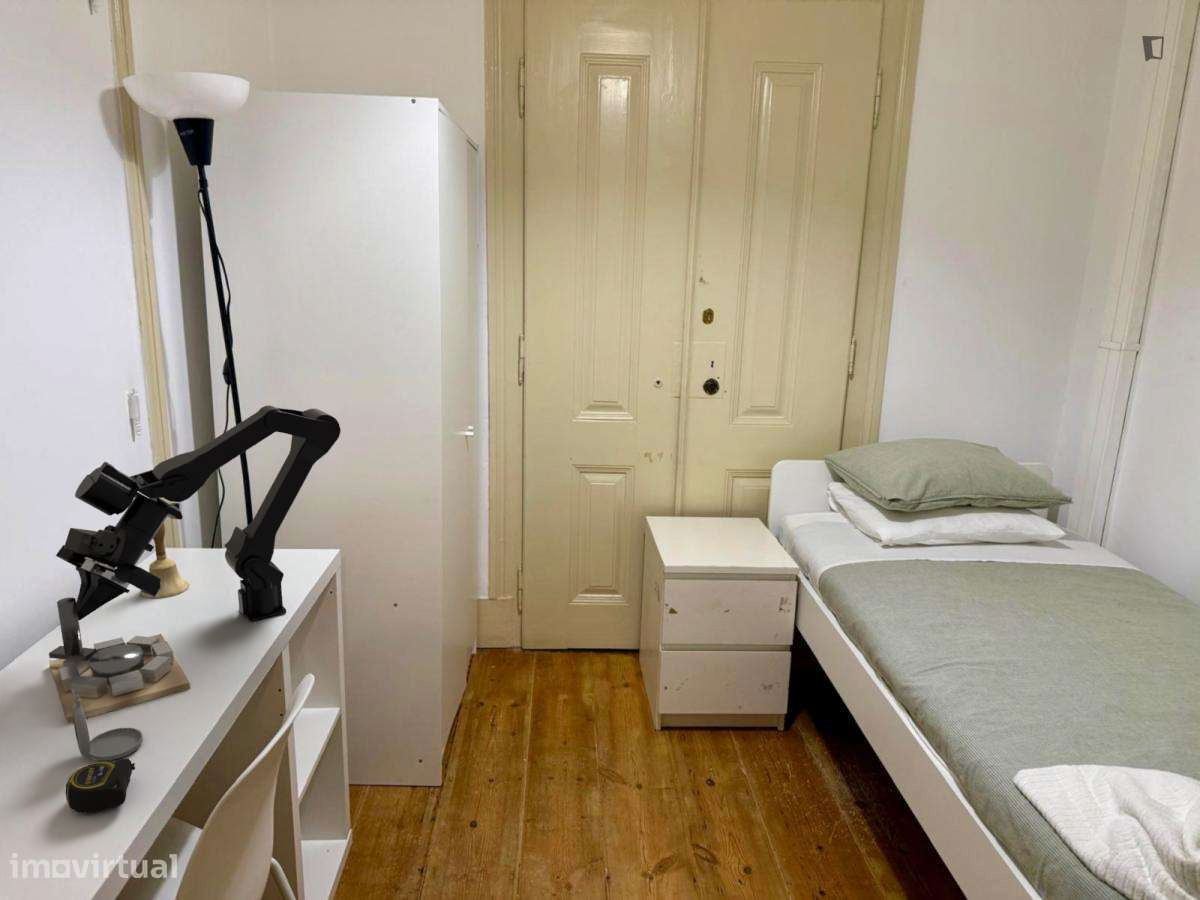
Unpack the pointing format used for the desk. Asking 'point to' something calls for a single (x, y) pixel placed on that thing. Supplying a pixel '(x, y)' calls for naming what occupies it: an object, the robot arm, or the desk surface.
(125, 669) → the grey metal puck
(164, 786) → the desk surface
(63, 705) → the oak board
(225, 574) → the desk surface
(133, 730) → the pocket watch
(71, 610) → the block ring with rod
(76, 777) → the tape measure
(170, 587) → the hand bell
